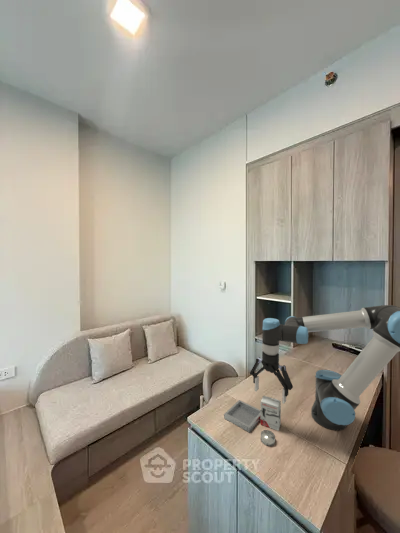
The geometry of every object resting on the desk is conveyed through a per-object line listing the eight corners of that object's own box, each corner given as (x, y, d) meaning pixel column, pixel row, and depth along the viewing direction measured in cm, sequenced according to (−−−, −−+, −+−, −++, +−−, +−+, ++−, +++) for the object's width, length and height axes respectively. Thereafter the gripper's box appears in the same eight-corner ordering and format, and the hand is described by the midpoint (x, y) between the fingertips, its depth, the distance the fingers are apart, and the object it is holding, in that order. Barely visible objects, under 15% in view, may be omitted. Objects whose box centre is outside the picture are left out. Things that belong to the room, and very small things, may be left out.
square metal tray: (263, 416, 112) (263, 411, 112) (249, 432, 101) (249, 427, 101) (239, 404, 121) (239, 399, 121) (224, 418, 111) (224, 413, 111)
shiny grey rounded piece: (277, 440, 98) (277, 434, 97) (271, 449, 93) (271, 443, 93) (264, 433, 102) (264, 427, 101) (258, 441, 97) (258, 435, 97)
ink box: (260, 424, 106) (260, 400, 106) (262, 418, 111) (262, 394, 110) (278, 431, 102) (279, 406, 102) (280, 424, 106) (280, 400, 106)
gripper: (301, 357, 99) (300, 403, 100) (250, 342, 116) (250, 382, 117) (295, 363, 94) (294, 412, 95) (243, 347, 110) (242, 388, 111)
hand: (269, 395), depth 106 cm, fingers open, 13 cm apart
